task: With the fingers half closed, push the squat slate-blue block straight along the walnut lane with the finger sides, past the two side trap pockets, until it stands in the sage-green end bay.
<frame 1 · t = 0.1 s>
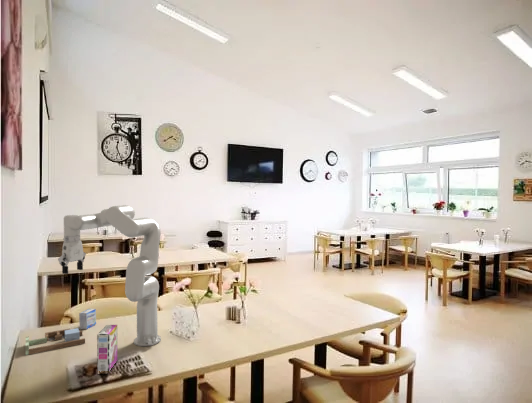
hand: (72, 271, 196), 31 cm above the table, tool pointing down, fingers open, 9 cm apart
medicine box: (87, 327, 204), on the table
block: (72, 341, 184), on the table
candy bar box: (108, 368, 157), on the table
lane: (57, 343, 181), on the table
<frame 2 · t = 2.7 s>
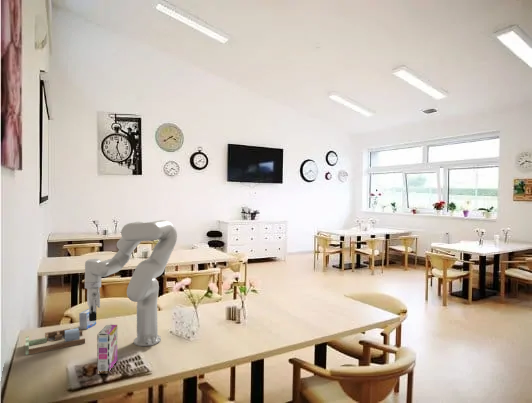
hand: (92, 320, 190), 8 cm above the table, tool pointing down, fingers closed
nothing on the table moved.
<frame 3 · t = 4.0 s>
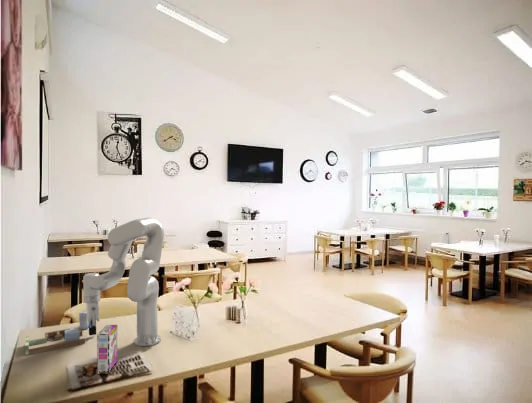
hand: (92, 334, 189), 1 cm above the table, tool pointing down, fingers closed
nothing on the table moved.
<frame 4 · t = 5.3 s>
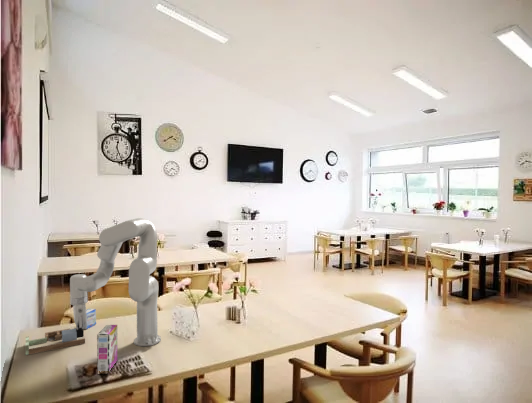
hand: (79, 336, 186), 1 cm above the table, tool pointing down, fingers closed
block: (69, 341, 184), on the table, touching gripper
everything else where it was.
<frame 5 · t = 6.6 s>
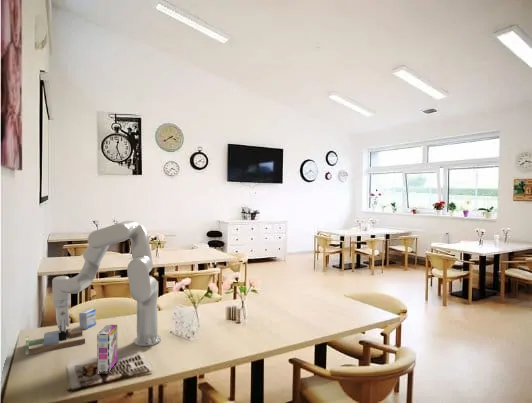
hand: (62, 340, 182), 1 cm above the table, tool pointing down, fingers closed
block: (51, 345, 180), on the table, touching gripper
everything else where it was.
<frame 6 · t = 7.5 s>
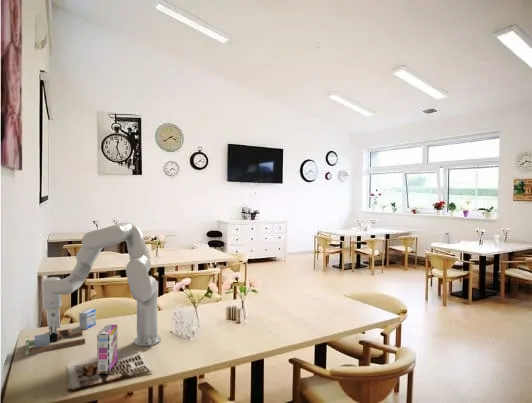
hand: (53, 341, 180), 1 cm above the table, tool pointing down, fingers closed
block: (42, 347, 178), on the table, touching gripper
everything else where it was.
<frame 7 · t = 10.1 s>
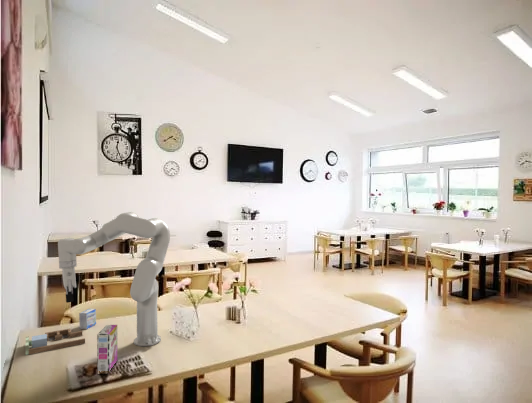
hand: (69, 301, 183), 20 cm above the table, tool pointing down, fingers closed
block: (39, 347, 177), on the table
everything else where it was.
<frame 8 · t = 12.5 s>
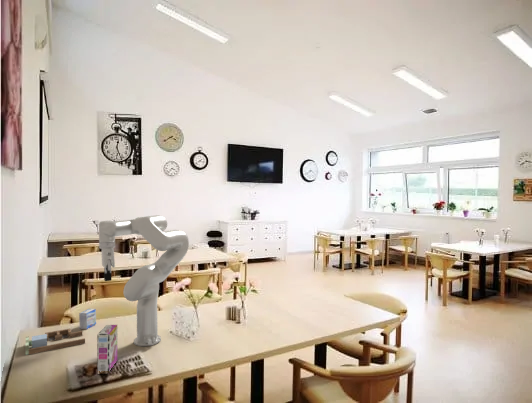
hand: (107, 280, 194), 27 cm above the table, tool pointing down, fingers closed
nothing on the table moved.
at the end: block inside the target area (0.4 cm from its centre), on the table; block tilted 0° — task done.
